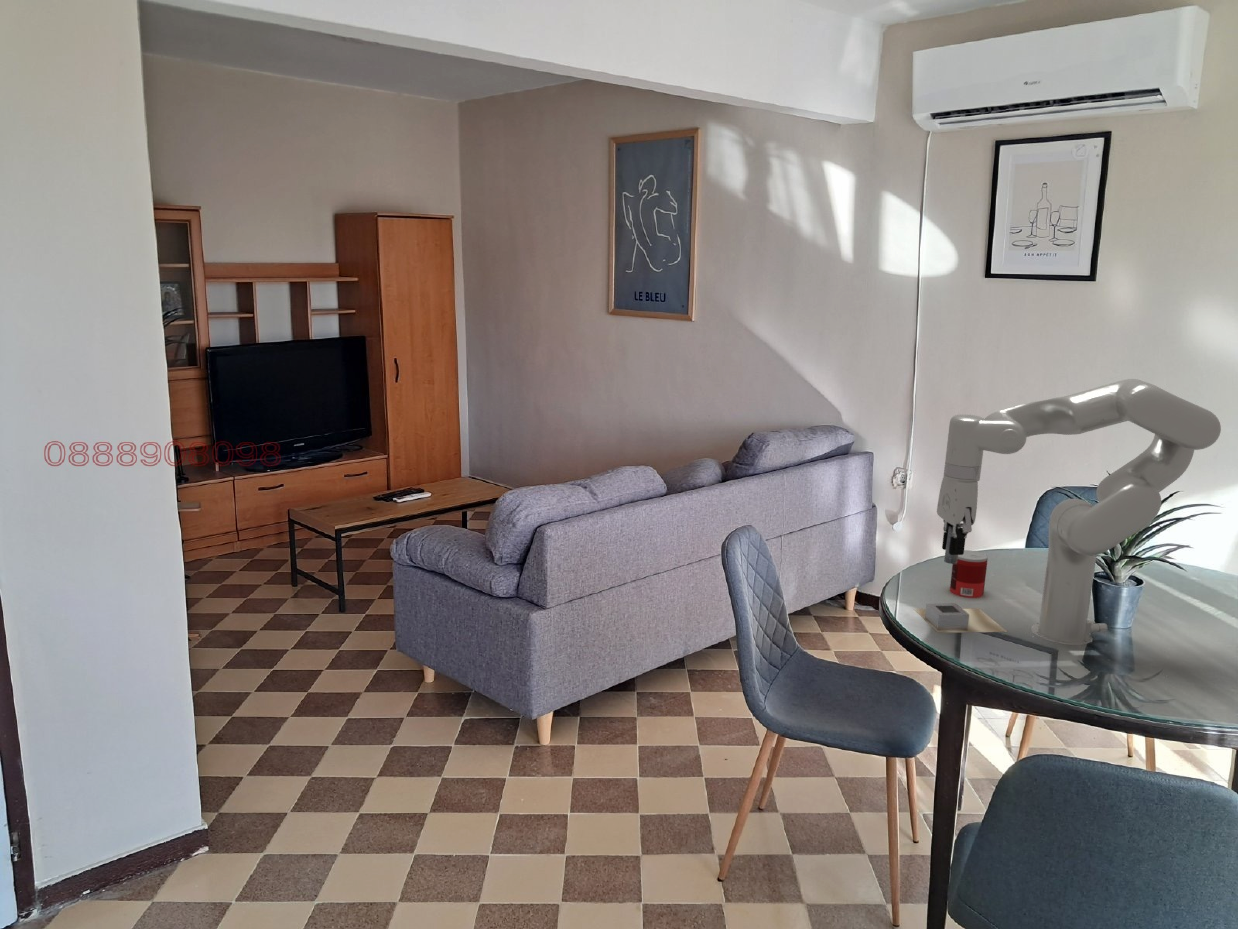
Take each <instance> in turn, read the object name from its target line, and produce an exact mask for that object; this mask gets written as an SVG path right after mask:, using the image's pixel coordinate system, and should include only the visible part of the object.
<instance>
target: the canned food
mask: <svg viewBox="0 0 1238 929" xmlns="http://www.w3.org/2000/svg"><path fill="white" fill-rule="evenodd" d="M988 557H989V556H988V555H987V554H985V553H983V552H980V551H976V550H969V549H964V554H963V555H958V561H957V564H951V565H952V566H951V574H950V576H951V577H950V584H949V585H950V586H949V593H951V594H953V595H955V596H958V597H962V598H969V599H973V598H974V599H977V598H982V597H983V596H984V593H985V584H986V577H987V569H988V561H989V560H988Z"/></svg>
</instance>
